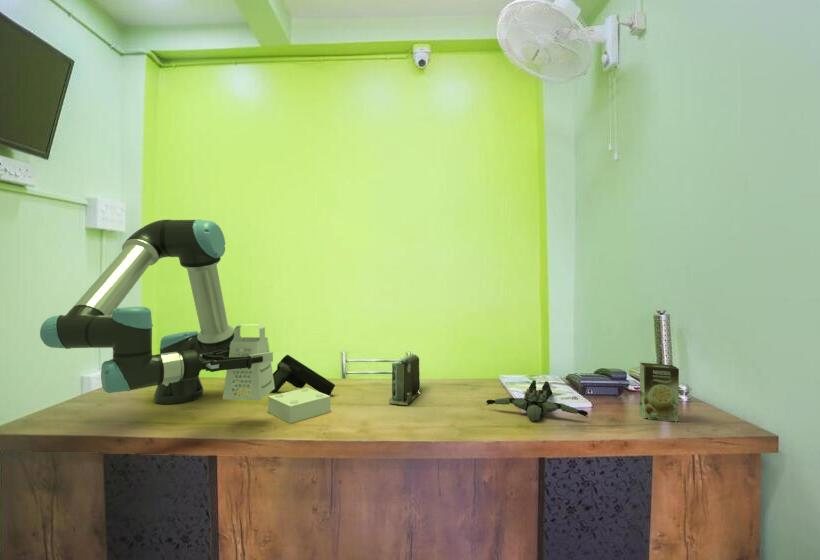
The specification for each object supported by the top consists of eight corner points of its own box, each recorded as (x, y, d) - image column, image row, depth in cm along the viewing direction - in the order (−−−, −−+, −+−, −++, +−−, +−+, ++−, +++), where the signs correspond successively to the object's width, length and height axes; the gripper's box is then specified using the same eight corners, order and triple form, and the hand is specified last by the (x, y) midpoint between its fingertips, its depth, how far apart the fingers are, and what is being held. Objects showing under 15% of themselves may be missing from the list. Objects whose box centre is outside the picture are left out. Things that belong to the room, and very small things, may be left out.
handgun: (314, 421, 140) (333, 386, 138) (262, 386, 144) (279, 351, 142) (317, 418, 142) (335, 384, 141) (265, 384, 146) (283, 350, 145)
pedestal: (268, 412, 122) (268, 395, 122) (306, 402, 133) (306, 386, 133) (290, 423, 113) (290, 405, 113) (330, 411, 123) (330, 395, 123)
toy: (498, 390, 147) (482, 422, 120) (498, 369, 147) (481, 396, 119) (585, 400, 136) (589, 437, 108) (585, 376, 135) (589, 408, 108)
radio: (409, 386, 152) (409, 349, 152) (430, 389, 149) (430, 350, 149) (383, 404, 131) (383, 360, 131) (406, 407, 127) (406, 362, 128)
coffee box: (643, 419, 117) (643, 366, 117) (638, 412, 123) (638, 362, 123) (679, 422, 114) (679, 368, 114) (672, 415, 120) (672, 364, 120)
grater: (259, 399, 106) (259, 327, 105) (222, 399, 106) (222, 327, 106) (274, 388, 116) (274, 322, 116) (240, 388, 117) (240, 322, 116)
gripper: (166, 373, 106) (246, 360, 122) (194, 390, 90) (282, 373, 106) (166, 345, 106) (246, 336, 122) (194, 358, 90) (282, 346, 106)
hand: (263, 353), depth 114 cm, fingers closed on grater, 11 cm apart
